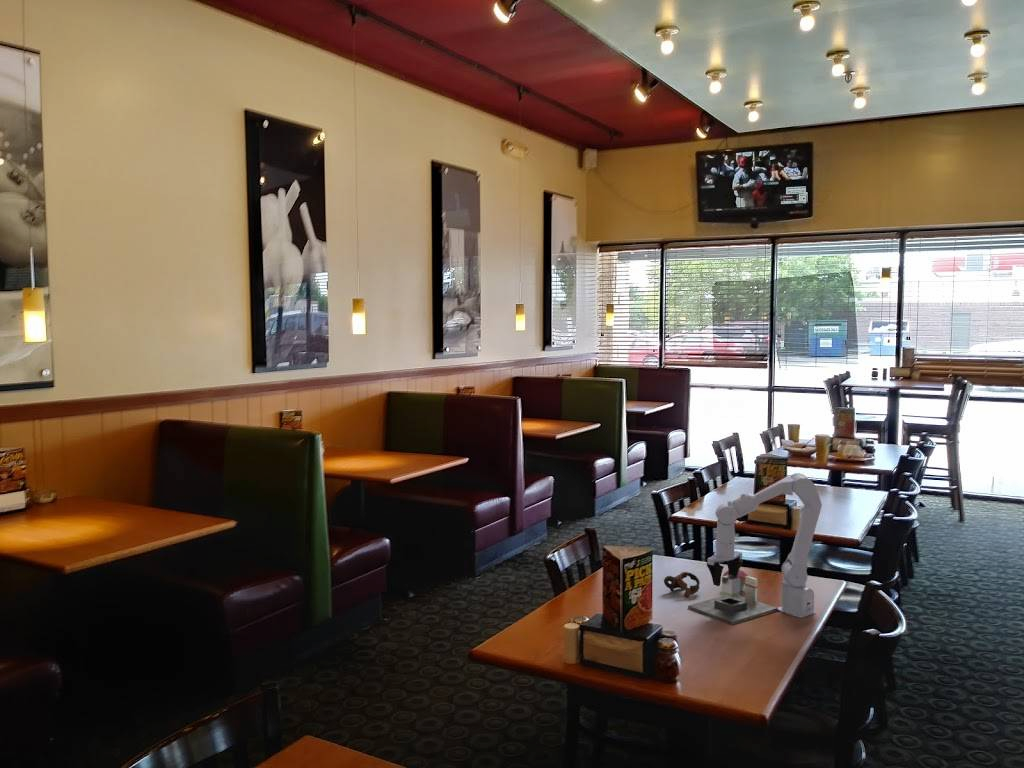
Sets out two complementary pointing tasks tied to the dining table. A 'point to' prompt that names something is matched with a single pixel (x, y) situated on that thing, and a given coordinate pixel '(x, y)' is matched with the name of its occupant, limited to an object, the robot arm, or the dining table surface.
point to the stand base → (735, 605)
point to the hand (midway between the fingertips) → (724, 583)
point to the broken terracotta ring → (682, 583)
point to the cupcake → (742, 578)
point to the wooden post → (731, 586)
